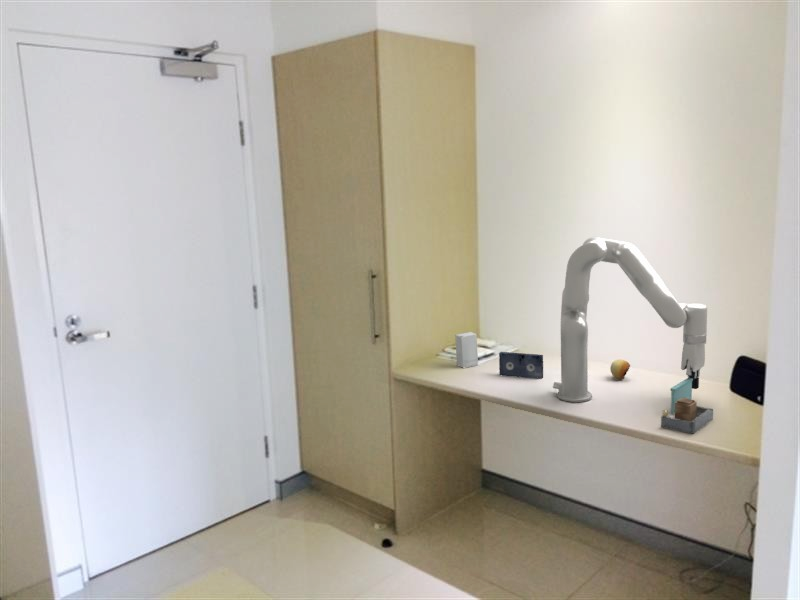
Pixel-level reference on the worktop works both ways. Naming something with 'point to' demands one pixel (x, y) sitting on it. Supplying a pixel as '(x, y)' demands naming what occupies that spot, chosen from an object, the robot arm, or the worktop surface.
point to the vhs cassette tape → (521, 365)
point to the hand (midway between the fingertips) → (693, 387)
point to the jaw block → (685, 409)
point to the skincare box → (466, 349)
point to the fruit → (619, 368)
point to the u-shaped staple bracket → (692, 426)
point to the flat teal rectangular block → (681, 392)
